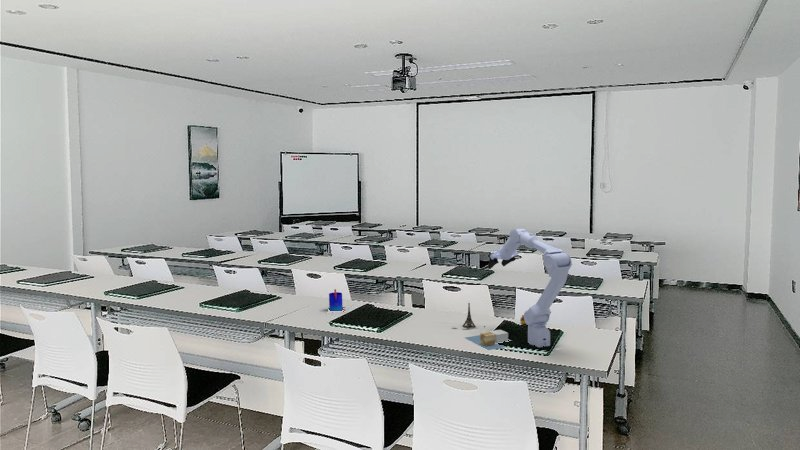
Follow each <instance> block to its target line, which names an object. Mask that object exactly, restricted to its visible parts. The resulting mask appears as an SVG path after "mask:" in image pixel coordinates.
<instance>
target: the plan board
mask: <svg viewBox="0 0 800 450" xmlns="http://www.w3.org/2000/svg"><path fill="white" fill-rule="evenodd" d="M464 339H466V340H467V341H469V342H472V343H473V344H476V345H477V346H479V347H481V348H483V349H485V350H488V351H492V350H497V349H499V350H500V349H505V348H507V347H506V346H503V345H499V344H498V343H503V342H498V343H496V342H495V345H491V346H484V345H482V344H480V334H478V335H473V336H471V335H470V336H466V337H464ZM508 340H509V341H512V340H511V339H509V338H508ZM509 341H505V342H509Z"/></svg>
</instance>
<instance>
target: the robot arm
mask: <svg viewBox="0 0 800 450" xmlns="http://www.w3.org/2000/svg"><path fill="white" fill-rule="evenodd" d="M509 232H510V233H509V237H508V238H507V240H506V241H505V243H504V244H503V245H502V246H500V247H499V249H498V250H496V251H495V252H491V253H489V262H488V264H487V266H488V267H489V268H490V269H492V268H493V267H495V265H497V264H499V261H498V260H502V261H501V262H500V263H501V265H502V267H505V266H507V265H508V264H511V263H512V262H515V261H516V257H517V256H518V255H519V252H518V251H517V250H518V248H519V247H520V246H521V245H523V246H525V247H527V248H528V249H530V250H531V249H535V250H537V251H538V252H540V253H542V254H543V256H542V260H543V264H544V266H545V269H546V272H547V274H548V277H550V280H549V281H548V283H547V285H546V286H545V289H544V290H543V292H542V293H541V295H540V297H539V298H538V300H537V301H536V303H535V304H533V305H532V306H530V307H529V308H528V309H527V310H526V311H524V313H523V315H524V321H525V322H526V324H525V325H526V326H527V325H528V326H527V343H529V344H528V345H531V346H534V345H535V347H537V348H544V347H550V346H551V330H550V329H549V328H547V325H548V322H549V320H550V315H551V313H552V310H551V309H550V307H551V306H552V304H553V303H554V301H555V300H556V298H557V297H558V295H559V293H560V292H561V290H562V288H563V287H564V286H565V284H566V281H567V279H568V275H569V271H570V270H571V267H573V266H572V265H573V262H572V257H571V255H570V253H568V252H566V251H564V250H563V249H560V248H557V247H555V246H554V247H553V246H552V245H550V244H547V243H545V242H542V241H541V240H539V238H538V236H537V235H535V234H534V233H533V232H528V231H527V230H526V229H525V228H514V229H511V230H510V231H509ZM543 346H544V347H543Z"/></svg>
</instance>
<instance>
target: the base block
mask: <svg viewBox="0 0 800 450" xmlns="http://www.w3.org/2000/svg"><path fill="white" fill-rule="evenodd" d="M488 332H490V333H493V334H495V342H496V343H498V342H504V341H508V339H509V332H507V331H505V330H502V329H495V330H489V331H488Z"/></svg>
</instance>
